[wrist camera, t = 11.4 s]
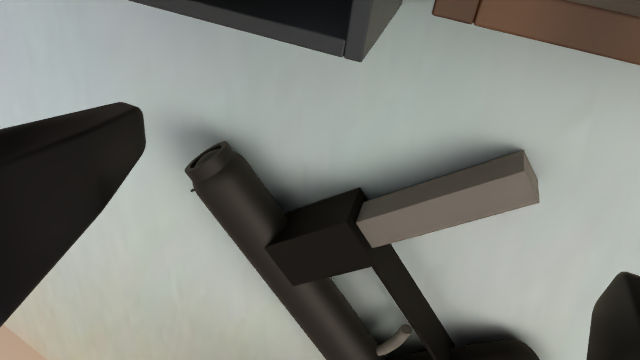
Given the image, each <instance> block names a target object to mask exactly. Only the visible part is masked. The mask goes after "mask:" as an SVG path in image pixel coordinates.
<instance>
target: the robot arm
mask: <svg viewBox="0 0 640 360" xmlns="http://www.w3.org/2000/svg"><path fill="white" fill-rule="evenodd" d="M145 145H146V138H145V129H144V119H143V113H142V111H141V109H139V108H138V107H136V106H133V105H130V104H127V103H124V102H117V103H113V104H109V105H104V106H100V107H96V108H91V109H87V110H82V111H78V112H74V113H69V114H65V115H61V116H56V117H52V118H48V119H43V120H39V121H34V122H30V123H26V124H21V125H17V126H13V127H8V128H4V129H0V327H1V326H2V325H3V324H4V323H5V321H6V320H7V319H8V318H9V317H10V316H11V315H12V313H13V312H14V311H15V310H16V309H17V308H18V307H19V305H20V304H21V303H22V302H23V301H24V300H25V299H26V297H27V296H28V295H29V294H30V293H31V292H32V291H33V290H34V288H35V287H36V286H37V285H38V284H39V283H40V282H41V280H42V279H43V278H44V277H45V276H46V275H47V274H48V272H49V271H50V270H51V269H52V268H53V267H54V266H55V264H56V263H57V262H58V261H59V260H60V259H61V258H62V256H63V255H64V254H65V253H66V252H67V251H68V250H69V249H70V247H71V246H72V245H73V244H74V243H75V242H76V241H77V239H78V238H79V237H80V236H81V235H82V234H83V233H84V231H85V230H86V229H87V228H88V227H89V226H90V225H91V223H92V222H93V221H94V220H95V219H96V218H97V216H98V215H99V214H100V213H101V212H102V210H103V209H104V208H105V206H106V205H107V204H108V202H109V201H110V200H111V198H112V197H113V195H114V194H115V193H116V191H117V190H118V188H119V187H120V185H121V184H122V183H123V181H124V180H125V178H126V177H127V175H128V174H129V173H130V171H131V170H132V168H133V167H134V165H135V164H136V163H137V161H138V160H139V158H140V157H141V155H142V154H143V152H144V149H145ZM587 360H640V276H638V275H635V274H632V273H629V272H621V273H619V274H618V275H617V276H616V277H615V278H614V279H613V281H612V282H611V283H610V285H609V286H608V287H607V289H606V290H605V291H604V292H603V294H602V295H601V296H600V298H599V299H598V300H597V302H596V304H595V306H594V309H593V312H592V319H591V327H590V336H589V344H588V352H587Z"/></svg>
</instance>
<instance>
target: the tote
mask: <svg viewBox="0 0 640 360" xmlns="http://www.w3.org/2000/svg"><path fill="white" fill-rule="evenodd" d="M129 1H133V2H137V3H140V4H144V5H148V6H151V7H155V8H159V9H163V10H166V11H170V12H174V13H178V14H181V15H185V16H189V17H193V18H196V19H200V20H204V21H208V22H211V23H215V24H219V25H223V26H226V27H230V28H234V29H238V30H241V31H245V32H249V33H253V34H256V35H260V36H264V37H267V38H271V39H275V40H279V41H282V42H286V43H290V44H294V45H297V46H301V47H305V48H309V49H312V50H316V51H320V52H324V53H327V54H331V55H335V56H339V57H343V56H344V58H346V59H350V60H354V61H357V62H362V60H363V59H364V58H365V56H366V55H367V53H368V52H369V50H370V49H371V48H372V46H373V45H374V43H375V42H376V40H377V39H378V38H379V36H380V35H381V33H382V32H383V30H384V29H385V28H386V26H387V25H388V23H389V22H390V20H391V19H392V18H393V16H394V15H395V13H396V12H397V10H398V9H399V8H400V6H401V4H402V0H129Z"/></svg>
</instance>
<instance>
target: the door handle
mask: <svg viewBox="0 0 640 360" xmlns="http://www.w3.org/2000/svg"><path fill="white" fill-rule="evenodd" d="M185 172H186V174H187V175H188V176H189V178H190V179H191V180H192V182H193V188H194V189H192V190H191V192H193V191H195V192H196V193H197V195H198V196H199V198H200V199H201V200H202V201H203V203H204V204H205V205H206V207H207V208H208V209H209V210H210V212H211V213H212V214H213V215H214V217H215V218H216V219H217V221H218V222H219V223H220V224H221V226H222V227H223V228H224V230H225V231H226V232H227V233H228V235H229V236H230V237H231V238H232V240H233V241H234V242H235V244H236V245H237V246H238V247H239V249H240V250H241V251H242V253H243V254H244V255H245V256H246V258H247V259H248V260H249V261H250V263H251V264H252V265H253V267H254V268H255V269H256V270H257V272H258V273H259V274H260V275H261V277H262V278H263V279H264V281H265V282H266V283H267V284H268V286H269V287H270V288H271V290H272V291H273V292H274V293H275V295H276V296H277V297H278V298H279V300H280V301H281V302H282V304H283V305H284V306H285V307H286V309H287V310H288V311H289V313H290V314H291V315H292V316H293V318H294V319H295V320H296V321H297V323H298V324H299V325H300V327H301V328H302V329H303V330H304V332H305V333H306V334H307V336H308V337H309V338H310V339H311V341H312V342H313V343H314V344H315V346H316V347H317V348H318V350H319V351H320V352H321V353H322V355H323V356H324V357H325V359H326V360H539V358H538V356H537V355H536V353H535V352H534V351H533V350H532V349H531V348H530V347H529V346H527V345H526V344H524V343H523V342H521V341H518V340H514V339H507V340H500V341H493V342H486V343H479V344H472V345H466V346H459V347H456V346H455V344H454V343H453V341H452V340H451V338H450V337H449V335H448V333H447V332H446V330H445V329H444V327H443V326H442V324H441V322H440V321H439V319H438V318H437V316H436V315H435V313H434V311H433V310H432V308H431V307H430V305H429V304H428V302H427V300H426V299H425V297H424V296H423V294H422V293H421V291H420V289H419V288H418V286H417V285H416V283H415V282H414V280H413V278H412V277H411V275H410V274H409V272H408V271H407V269H406V267H405V266H404V264H403V263H402V261H401V260H400V258H399V256H398V255H397V253H396V252H395V250H394V249H393V247H392V245H391V244H390V243H394V242H397V241H401V240H405V239H408V238H412V237H416V236H419V235H423V234H426V233H430V232H434V231H437V230H441V229H445V228H448V227H452V226H456V225H459V224H463V223H467V222H470V221H474V220H478V219H481V218H485V217H489V216H492V215H496V214H500V213H503V212H507V211H511V210H514V209H518V208H522V207H525V206H529V205H533V204H536V203H539V191H538V180H537V178H536V176H535V174H534V171H533V169H532V167H531V165H530V163H529V161H528V159H527V157H526V154H525V152H524V150H522V151H518V152H515V153H512V154H509V155H506V156H503V157H500V158H497V159H494V160H491V161H488V162H485V163H482V164H479V165H476V166H473V167H470V168H467V169H464V170H461V171H458V172H455V173H452V174H448V175H445V176H442V177H439V178H436V179H433V180H430V181H427V182H424V183H421V184H418V185H415V186H412V187H409V188H406V189H403V190H400V191H397V192H394V193H391V194H388V195H385V196H382V197H379V198H375V199H372V200H369V201H368V199H367V198H366V196H365V195H364V193H363V192H362V190H361V188H357V189H354V190H351V191H348V192H345V193H342V194H340V195H337V196H334V197H331V198H328V199H325V200H322V201H319V202H317V203H314V204H311V205H308V206H305V207H302V208H299V209H296V210H294V211H291V212H288V213H285V214H284V213H283V211H282V210H281V209H280V207H279V206H278V204H277V203H276V202H275V200H274V199H273V197H272V196H271V195H270V193H269V192H268V191H267V189H266V188H265V186H264V185H263V184H262V182H261V181H260V179H259V178H258V177H257V175H256V174H255V172H254V171H253V170H252V168H251V167H250V165H249V164H248V163H247V161H246V160H245V159H244V158H243V157H242V156H241V155H240V154H238V153H236V152H234V151H233V150H232V149H231V147H230V146H229V144H228V143H227V142H226V141H223V142H220V143H218V144H216V145H214V146H212V147H210V148H209V149H207V150H206V151H204V152H203V153H201V154H200V155H199V156H197V157H196V158H195V159H194V160H193V161H192V162H191V163H190V164H189V165H188V166H187V167H186V168H185ZM368 267H372V268H373V269H374V271H375V272H376V274H377V275H378V277H379V278H380V280H381V281H382V283H383V284H384V286H385V287H386V289H387V290H388V292H389V293H390V295H391V296H392V298H393V299H394V301H395V302H396V304H397V305H398V307H399V308H400V310H401V311H402V313H403V314H404V316H405V317H406V319H407V320H408V322H409V323H410V325H411V326H412V328H413V329H414V331H415V332H416V334H417V335H418V337H419V338H420V340H421V341H422V343H423V344H424V346H425V347H426V349H427V350H428V351H424V352H418V353H411V354H404V355H397V356H390V357H386V355H385V354H387V353H389V352H391V351H393V350H394V349H396V348H397V347H399V346H400V345H401V344H402V343H403V342H404V341H405V340H406V339H407V338H408V337H409V336H410V334H411V333H412V329H411V327H410V326H409V325H407V324H403V325H402V326H401V327H400V329H399V330H398V331H397V332H396V333H395V335H394V336H393V337H391V338H390V339H389V340H388V341H386V342H384V343H383V344H380V345H378V344H377V343H376V341H375V340H374V338H373V337H372V336H371V334H370V333H369V331H368V330H367V329H366V327H365V326H364V324H363V323H362V322H361V320H360V319H359V318H358V316H357V315H356V313H355V312H354V311H353V309H352V308H351V306H350V305H349V304H348V302H347V301H346V299H345V298H344V297H343V295H342V294H341V292H340V291H339V290H338V288H337V287H336V285H335V284H334V283H333V281H332V280H331V278H330V277H332V276H336V275H340V274H344V273H348V272H352V271H356V270H360V269H364V268H368Z"/></svg>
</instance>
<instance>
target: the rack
mask: <svg viewBox="0 0 640 360" xmlns="http://www.w3.org/2000/svg"><path fill="white" fill-rule="evenodd" d="M432 15H434V16H438V17H442V18H446V19H451V20H455V21H459V22H463V23H467V24H472V23H474V25H475V26H480V27H484V28H488V29H492V30H496V31H500V32H504V33H509V34H513V35H517V36H521V37H525V38H529V39H533V40H537V41H542V42H546V43H550V44H554V45H558V46H562V47H566V48H571V49H575V50H579V51H583V52H587V53H591V54H595V55H600V56H604V57H608V58H612V59H616V60H620V61H624V62H628V63H633V64H637V65H640V0H435V2H434V6H433V10H432Z"/></svg>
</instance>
